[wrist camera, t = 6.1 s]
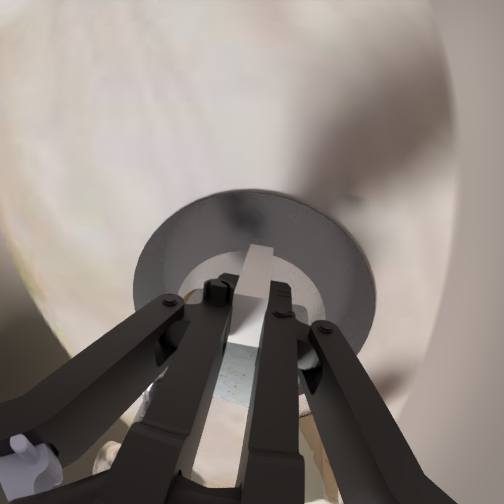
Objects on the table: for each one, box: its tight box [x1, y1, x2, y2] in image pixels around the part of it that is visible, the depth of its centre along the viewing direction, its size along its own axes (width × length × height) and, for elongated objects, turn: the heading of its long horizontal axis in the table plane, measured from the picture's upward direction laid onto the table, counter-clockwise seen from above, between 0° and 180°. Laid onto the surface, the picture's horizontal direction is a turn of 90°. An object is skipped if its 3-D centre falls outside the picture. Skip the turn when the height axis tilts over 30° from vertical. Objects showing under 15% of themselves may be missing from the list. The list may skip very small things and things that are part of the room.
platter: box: [133, 193, 374, 395], centre depth 21 cm, size 20×20×1 cm
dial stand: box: [93, 369, 166, 475], centre depth 18 cm, size 6×4×14 cm, turn 172°
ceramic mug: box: [166, 288, 309, 408], centre depth 18 cm, size 11×8×8 cm
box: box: [299, 414, 338, 504], centre depth 21 cm, size 5×4×11 cm
